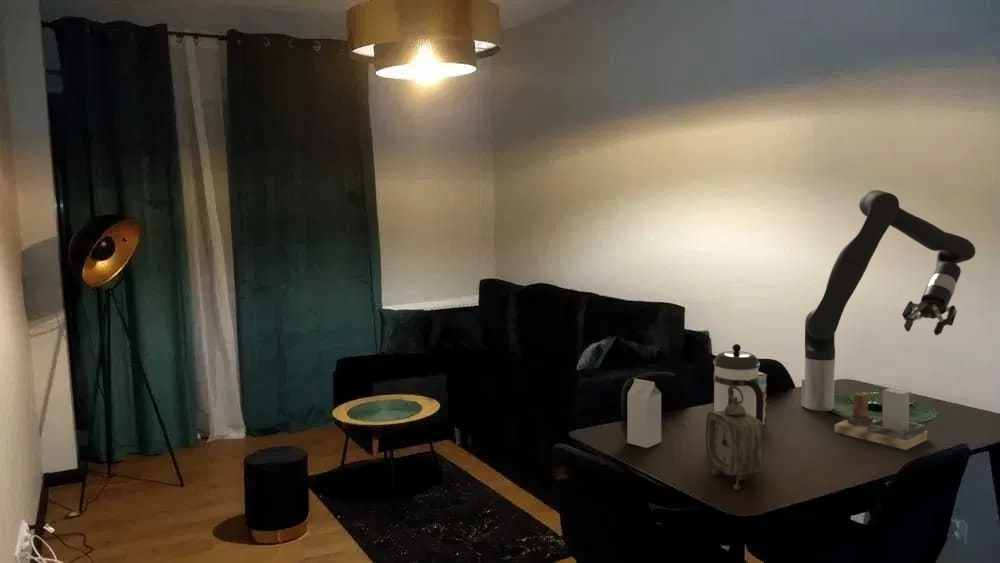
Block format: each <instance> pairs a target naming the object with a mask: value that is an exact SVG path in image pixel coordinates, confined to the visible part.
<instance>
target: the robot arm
mask: <svg viewBox="0 0 1000 563" xmlns="http://www.w3.org/2000/svg"><path fill="white" fill-rule="evenodd" d="M858 206H859V209H860V211H861V214H863V215H864V216H865V217H866V218H865V219H864V222H863V224H862V226H861V228H860V230H859V231H858V233H857V234H855V236H854V237H853V238H852V239H851V240H850V241H849V242H848V243H847V244H846V245H845V246H844V247H843V248H842V250H841V251H840V252H839V254H838V256H837V258H836V260H835V261H834V264H833V266H832V269H831V270H830V274H829V277H828V279H827V280H828V281H827V284H826V288H825V291H824V293H823V296H822V298H821V301H820V302H819V304H817V307H816V309H813V310H810V312H809V313H807V315H806V317H805V322H804V377H803V378H802V379H801V396H800V400H801V401H800V402H801V403H800V406H801V407H804V408H805V409H807V410H811V411H815V412H829V411H832V409H833V410H834V405H835V403H834V402H835V400H834V399H835V374H836V373H835V368H836V346H835V345H836V344H835V336H836V335H835V334H836V331H837V330H838V326H839V323H840V320H841V317H842V315H843V313H844V310H845V308H846V305H847V304H848V302H849V300H850V299H851V297H852V296H853V293H854V292H855V291H856V289H857V287H858V285H859V284H860V281H861V280H862V278H863V277H864V274H865V272H866V271H867V268H868V267H869V264H870V262H871V259H872V257H873V256H874V253H876V250H877V248H878V246H879V244H880V243H881V240H882V238H883V237H884V235H885V233H886V232H887V231H888V229H889V227H890V226H891V227H892V228H895V229H896V230H897V231H899V232H901V233H903V234H904V235H906V236H908V237H909V238H910V239H911V240H913V241H915V242H917V243H918V244H919V245H922V246H923V247H925V248H926V249H928V250H931V251H934V252H937V253H936V254H937V255H936V266H935V270H934V271H933V274H932V276H931V278H930V280H929V281H928V283H927V285H926V287H925V290H924V292H923V294H922V296H921V300H920V301H919V302H918V303H916V302H915V303H914V301H912V300H910V301H908V303H907V305H906V306H905V308H904V310H903V312H902V314H901V315H902V317H903V319H904V321H905V323H904V325H903V327H904V329H905V331H906V332H910V331H911V329H912V327H913V324H914V322H916V321H917V320H919V321H920V320H921V319H933V320H935V319H937V320H938V321H937V323H936V325H935V327H934V328H933V329H934V330H933V333H934V335H935V336H939V335H940V334H942V333H943V330H944V327H946V326H952V325H953V324H954V321H955V318H956V315H957V312H958V311H957V308H956V306H955V305H951V306H949V304H950V301H951V299H952V296H953V295H954V292H955V289H956V286H957V283H958V281H959V278H960V276H961V273H962V270H961V267H960V265H958V264H961V263H963V262H966V261H970V260H971V259H973V258H974V257H975V255H976V247H975V246H974V243H972V242H971V241H970V240H969V239H968V238H965V237H963V236H960V235H957V234H954V233H951V232H947V231H944V230H942V229H941V228H939V227H937V226H936V225H934V224H932V222H929V221H927V220H925V219H923V218H920V217H918V216H916V215H914V214H912V213H911V212H908V211H906V210H904V209H903V208H901V207H900V202H899V199H898V197H897V196H896V195H895V194H893V193H890V192H886V191H883V190H879V189H878V190H877V189H875V190H872V189H871V190H870V191H866V192H865V193H864V194H863V195H862V196H861V197H860V200H859V204H858ZM946 312H947V316H946V318H943V316H942V315H943V314H945V313H946Z"/></svg>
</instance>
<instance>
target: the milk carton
mask: <svg viewBox="0 0 1000 563" xmlns="http://www.w3.org/2000/svg"><path fill="white" fill-rule="evenodd" d="M626 401H627V403H626V404H627V408H626V409H627V410H626V411H627V416H626V417H627V444H631V445H634V446H639V447H641V448H645V449H648V448H651V447H654V446H656V445H658V444H660V443H661V442H662V392H661V391H660V390H659V389H658V388H657V387H656V383H655V382H654V381H650V380H644V379H639V378H634V379H633V383H632V385H631V387H630V389H629V390H628V392H627V400H626Z"/></svg>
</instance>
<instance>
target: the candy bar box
mask: <svg viewBox="0 0 1000 563" xmlns="http://www.w3.org/2000/svg"><path fill="white" fill-rule="evenodd" d="M758 375H759V387H760V389H761V391H762V396H763V424H764V426H766V424H767V421H766V420H767V388H768V387H767V385H768V374H767V373H764V372H761V371H759V370H758Z"/></svg>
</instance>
